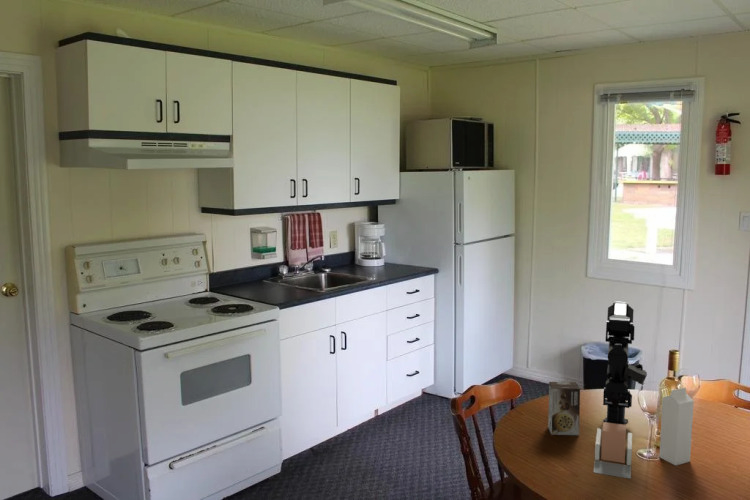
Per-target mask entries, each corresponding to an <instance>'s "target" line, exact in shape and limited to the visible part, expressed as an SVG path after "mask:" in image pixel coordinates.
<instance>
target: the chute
mask: <svg viewBox="0 0 750 500" xmlns="http://www.w3.org/2000/svg"><path fill="white" fill-rule="evenodd" d="M596 429H597V430H596V437H595V443H594V444H595V445H594V447H595V448H594V465H593V473H594V474H600V475H606V476H610V477H611V476H612V477H619V478H623V479H624V478H625V479H629V480H631V479H632V459H633V458H632V455H633V454H632V453H633V452H632V451H633V433H632V432H627V439H626V440H627V441H626V442H627V444H626V446H625V463H626V464H623V463H617V462H611V461H604V460H600V459H601V454H602V431H603V428H598V427H597V428H596Z"/></svg>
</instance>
